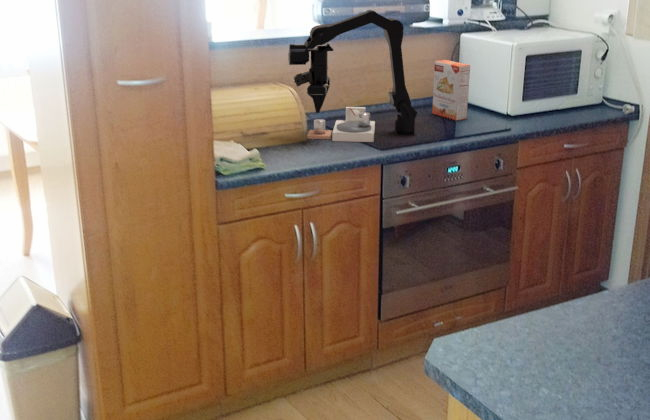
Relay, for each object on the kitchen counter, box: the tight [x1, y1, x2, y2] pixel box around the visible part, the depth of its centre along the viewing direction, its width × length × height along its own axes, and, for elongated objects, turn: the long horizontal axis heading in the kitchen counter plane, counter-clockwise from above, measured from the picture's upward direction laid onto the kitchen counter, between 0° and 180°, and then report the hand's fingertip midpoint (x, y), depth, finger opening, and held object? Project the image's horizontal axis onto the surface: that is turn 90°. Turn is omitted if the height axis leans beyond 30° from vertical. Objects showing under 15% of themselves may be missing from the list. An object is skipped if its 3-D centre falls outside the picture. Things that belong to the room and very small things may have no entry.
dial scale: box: [331, 106, 376, 143], centre depth 259 cm, size 14×18×8 cm
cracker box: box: [431, 59, 471, 122], centre depth 282 cm, size 14×6×21 cm, turn 32°
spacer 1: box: [313, 118, 326, 134], centre depth 258 cm, size 4×4×4 cm
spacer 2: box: [358, 112, 371, 128], centre depth 256 cm, size 4×4×4 cm
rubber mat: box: [306, 129, 333, 140], centre depth 259 cm, size 8×8×1 cm
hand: (319, 109), depth 256 cm, fingers open, 9 cm apart
